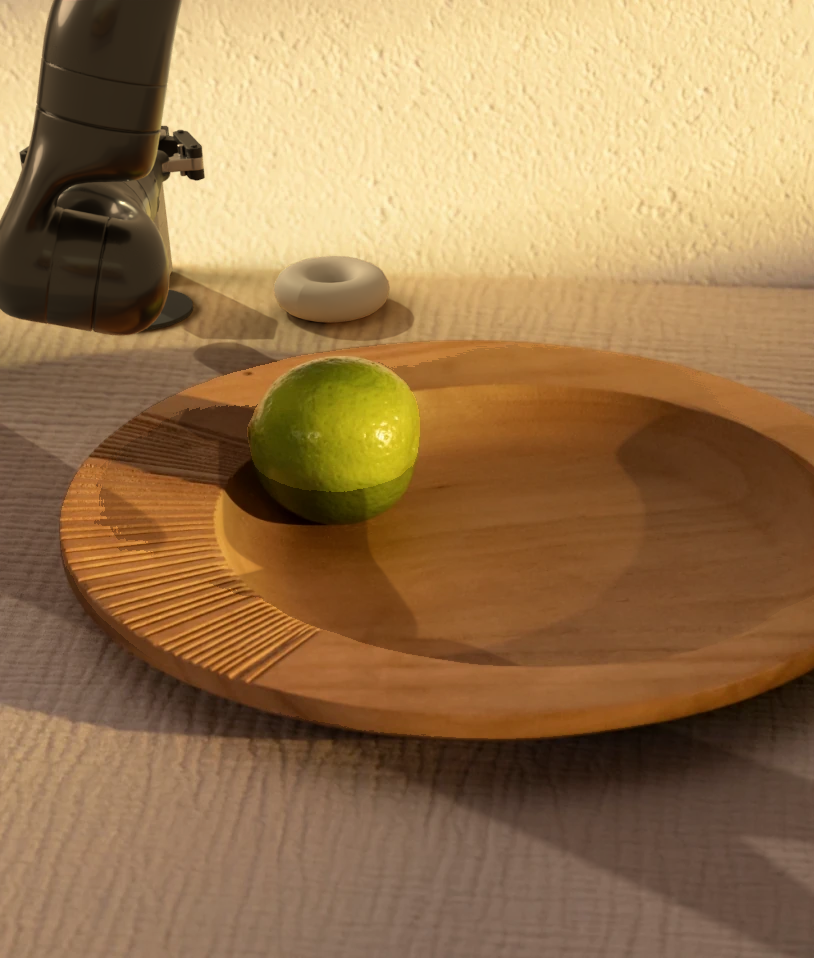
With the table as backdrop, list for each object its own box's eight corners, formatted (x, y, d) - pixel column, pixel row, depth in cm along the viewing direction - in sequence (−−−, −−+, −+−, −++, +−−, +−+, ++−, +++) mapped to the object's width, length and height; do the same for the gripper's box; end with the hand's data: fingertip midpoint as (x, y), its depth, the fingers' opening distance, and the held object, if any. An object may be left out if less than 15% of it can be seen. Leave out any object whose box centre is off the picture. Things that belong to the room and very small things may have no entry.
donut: (402, 292, 119) (295, 281, 120) (402, 256, 117) (294, 244, 119) (371, 335, 110) (257, 322, 112) (371, 296, 109) (255, 283, 110)
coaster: (63, 319, 112) (62, 314, 112) (132, 285, 119) (131, 281, 119) (148, 339, 109) (148, 334, 108) (214, 303, 116) (213, 298, 115)
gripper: (201, 136, 93) (207, 84, 108) (-9, 143, 91) (26, 89, 106) (211, 239, 97) (215, 175, 112) (9, 247, 95) (40, 181, 110)
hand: (123, 134), depth 109 cm, fingers closed on pill bottle, 4 cm apart
